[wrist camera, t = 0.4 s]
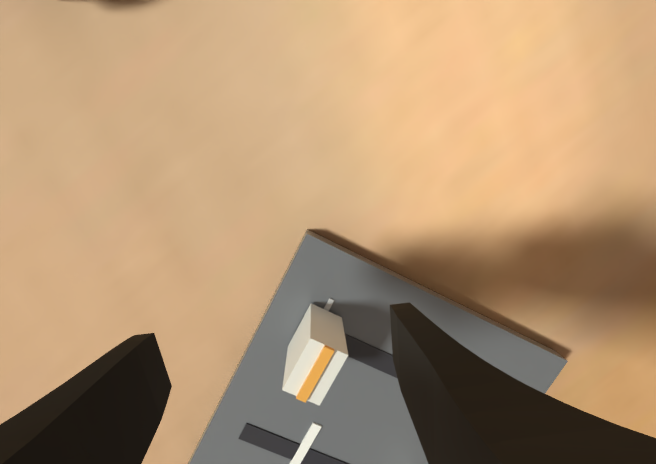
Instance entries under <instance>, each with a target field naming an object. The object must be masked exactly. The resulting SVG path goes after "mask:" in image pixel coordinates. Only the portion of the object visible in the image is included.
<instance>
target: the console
mask: <svg viewBox="0 0 656 464" xmlns="http://www.w3.org/2000/svg"><path fill="white" fill-rule="evenodd" d="M409 302H410V303H411V304H412V305H413V306H415V307H416V308H417V309H418V310H419V311H420V312H422V313H423V314H424V315H425V316H426V317H427V318H429V319H430V320H431V321H432V322H433V323H434V324H436V325H437V326H438V327H439V328H441V329H442V330H443V331H444V332H446V333H447V334H448V335H449V336H451V337H452V338H453V339H455V340H456V341H457V342H458V343H460V344H461V345H463V346H464V347H465V348H467V349H468V350H470V351H471V352H473V353H474V354H476V355H477V356H479V357H480V358H482V359H483V360H485V361H486V362H488V363H489V364H491V365H493V366H494V367H496V368H498V369H499V370H501V371H503V372H505V373H506V374H508V375H510V376H512V377H513V378H515V379H517V380H519V381H521V382H522V383H524V384H526V385H528V386H530V387H532V388H534V389H536V390H538V391H540V392H542V393H544V394H545V393H546V391H547V390H548V389H549V387H550V386H551V384H552V383H553V381H554V380H555V379H556V377H557V376H558V374H559V373H560V371H561V370H562V369H563V367H564V366H565V364H566V363H567V360H566V359H565V358H563V357H562V356H561V355H560V354H558V353H557V352H556V351H555V350H553V349H550V348H548V347H546V346H544V345H542V344H540V343H538V342H536V341H534V340H532V339H530V338H528V337H526V336H524V335H522V334H520V333H518V332H516V331H514V330H512V329H510V328H508V327H506V326H504V325H501V324H499V323H497V322H495V321H493V320H491V319H489V318H487V317H485V316H483V315H481V314H479V313H477V312H475V311H473V310H471V309H469V308H467V307H465V306H463V305H461V304H459V303H457V302H455V301H453V300H450V299H448V298H446V297H444V296H442V295H440V294H438V293H436V292H434V291H432V290H430V289H428V288H426V287H424V286H422V285H420V284H418V283H416V282H414V281H412V280H410V279H408V278H406V277H404V276H402V275H399V274H397V273H395V272H393V271H391V270H389V269H387V268H385V267H383V266H381V265H379V264H377V263H375V262H373V261H371V260H369V259H367V258H365V257H363V256H361V255H359V254H357V253H355V252H353V251H351V250H348V249H346V248H344V247H342V246H340V245H338V244H336V243H334V242H332V241H330V240H328V239H326V238H324V237H322V236H320V235H318V234H316V233H314V232H312V231H310V230H308V229H307V231H306V233H305V235H304V237H303V239H302V241H301V243H300V244H299V246H298V248H297V250H296V252H295V254H294V256H293V258H292V260H291V262H290V264H289V266H288V268H287V270H286V272H285V274H284V276H283V278H282V280H281V282H280V284H279V286H278V288H277V290H276V292H275V294H274V295H273V297H272V299H271V301H270V303H269V305H268V307H267V309H266V311H265V313H264V315H263V317H262V319H261V321H260V323H259V325H258V327H257V329H256V331H255V333H254V335H253V337H252V339H251V341H250V343H249V345H248V347H247V348H246V350H245V352H244V354H243V356H242V358H241V360H240V362H239V364H238V366H237V368H236V370H235V372H234V374H233V376H232V378H231V380H230V382H229V384H228V386H227V388H226V390H225V392H224V394H223V396H222V398H221V400H220V401H219V403H218V405H217V407H216V409H215V411H214V413H213V415H212V417H211V419H210V421H209V423H208V425H207V427H206V429H205V431H204V433H203V435H202V437H201V439H200V441H199V443H198V445H197V447H196V449H195V451H194V453H193V454H192V456H191V458H190V460H189V462H188V464H428V461H427V459H426V456H425V453H424V451H423V448H422V445H421V443H420V440H419V438H418V435H417V432H416V430H415V427H414V425H413V422H412V419H411V417H410V414H409V411H408V409H407V406H406V403H405V401H404V398H403V395H402V393H401V390H400V386H399V382H398V378H397V374H396V370H395V366H394V362H393V353H392V336H391V319H390V305H392V304H400V303H409ZM311 303H312V304H314V305H316V306H318V307H320V308H322V309H325V310H327V311H329V312H331V313H333V314H335V315H338V316H340V317H342V321H343V327H344V333H345V339H346V344H347V350H348V357H347V358H346V360H345V362H344V364H343V365H342V367H341V369H340V371H339V373H338V374H337V376H336V378H335V380H334V381H333V383H332V385H331V387H330V388H329V390H328V392H327V394H326V395H325V397H324V399H323V401H322V402H321V404H320V406H319V405H317V404H314V403H312V402H309V401H306V403H305V402H303V401H300V400H298V399H296V396H295V395H293V394H290V393H288V392H286V391H283V390H282V387H283V379H284V372H285V365H286V357H287V350H288V345H289V343H290V341H291V340H292V338H293V336H294V334H295V332H296V330H297V328H298V326H299V325H300V323H301V321H302V319H303V317H304V315H305V313H306V311H307V310H308V308H309V306H310V304H311Z"/></svg>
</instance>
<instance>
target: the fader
mask: <svg viewBox="0 0 656 464" xmlns="http://www.w3.org/2000/svg"><path fill="white" fill-rule="evenodd" d="M347 357H348V350H347V344H346V339H345V333H344V327H343V321H342V317H340V316H338V315H335V314H333V313H331V312H329V311H327V310H325V309H322V308H320V307H318V306H316V305H314V304H312V303H311V304H310V306H309V308H308V310H307V311H306V313H305V315H304V317H303V319H302V321H301V323H300V325H299V326H298V328H297V330H296V332H295V334H294V336H293V338H292V340H291V341H290V343H289V345H288V350H287V357H286V365H285V372H284V379H283V387H282V390H283V391H286V392H288V393H290V394H293V395H295V396H296V399H298V400H300V401H303V402H305V403H306V401H309V402H312V403H314V404H317V405H319V406H320V404H321V402H322V401H323V399H324V397H325V395H326V394H327V392H328V390H329V388H330V387H331V385H332V383H333V381H334V380H335V378H336V376H337V374H338V373H339V371H340V369H341V367H342V365H343V364H344V362H345V360H346V358H347Z"/></svg>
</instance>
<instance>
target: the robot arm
mask: <svg viewBox="0 0 656 464" xmlns="http://www.w3.org/2000/svg"><path fill="white" fill-rule="evenodd" d="M390 319H391V336H392V353H393V362H394V366H395V370H396V374H397V378H398V382H399V386H400V390H401V393H402V395H403V398H404V401H405V403H406V406H407V409H408V411H409V414H410V417H411V419H412V422H413V425H414V427H415V430H416V432H417V435H418V438H419V440H420V443H421V445H422V448H423V451H424V453H425V456H426V459H427V461H428V464H656V438H653V437H650V436H648V435H645V434H642V433H639V432H636V431H633V430H630V429H627V428H624V427H621V426H619V425H616V424H614V423H611V422H609V421H606V420H604V419H601V418H599V417H596V416H594V415H591V414H589V413H586V412H584V411H581V410H579V409H577V408H575V407H572V406H570V405H568V404H565V403H563V402H561V401H559V400H557V399H555V398H553V397H550V396H548V395H546V394H544V393H542V392H540V391H538V390H536V389H534V388H532V387H530V386H528V385H526V384H524V383H522V382H521V381H519V380H517V379H515V378H513V377H512V376H510V375H508V374H506V373H505V372H503V371H501V370H499V369H498V368H496V367H494V366H493V365H491V364H489V363H488V362H486V361H485V360H483V359H482V358H480V357H479V356H477V355H476V354H474V353H473V352H471V351H470V350H468V349H467V348H465V347H464V346H463V345H461V344H460V343H458V342H457V341H456V340H455V339H453V338H452V337H451V336H449V335H448V334H447V333H446V332H444V331H443V330H442V329H441V328H439V327H438V326H437V325H436V324H434V323H433V322H432V321H431V320H430V319H429V318H427V317H426V316H425V315H424V314H423V313H422V312H420V311H419V310H418V309H417V308H416V307H415V306H413V305H412V304H411V303H410V302H409V303H400V304H392V305H390ZM171 387H172V386H171V383H170V380H169V377H168V374H167V371H166V368H165V365H164V362H163V359H162V356H161V353H160V350H159V347H158V344H157V341H156V337H155V334H154V333H150V334H141V335H134V336H132V337H130V338H129V339H127V340H125V341H124V342H122V343H121V344H119V345H118V346H116V347H115V348H113V349H112V350H110V351H109V352H108V353H106V354H105V355H103V356H102V357H100V358H99V359H98V360H96V361H95V362H93V363H92V364H91V365H89V366H88V367H86V368H85V369H83V370H82V371H81V372H79V373H78V374H76V375H75V376H74V377H72V378H71V379H69V380H68V381H66V382H65V383H64V384H62V385H61V386H59V387H58V388H56V389H55V390H53V391H52V392H50V393H49V394H47V395H46V396H44V397H43V398H41V399H40V400H38V401H37V402H35V403H34V404H32V405H31V406H29V407H28V408H26V409H25V410H23V411H21V412H20V413H18V414H17V415H15V416H14V417H12V418H10V419H9V420H7V421H5V422H4V423H2V424H1V425H0V464H141V463H142V461H143V459H144V457H145V454H146V452H147V450H148V448H149V446H150V444H151V441H152V439H153V437H154V435H155V433H156V430H157V428H158V426H159V424H160V421H161V419H162V416H163V413H164V410H165V407H166V404H167V400H168V397H169V394H170V390H171Z"/></svg>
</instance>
